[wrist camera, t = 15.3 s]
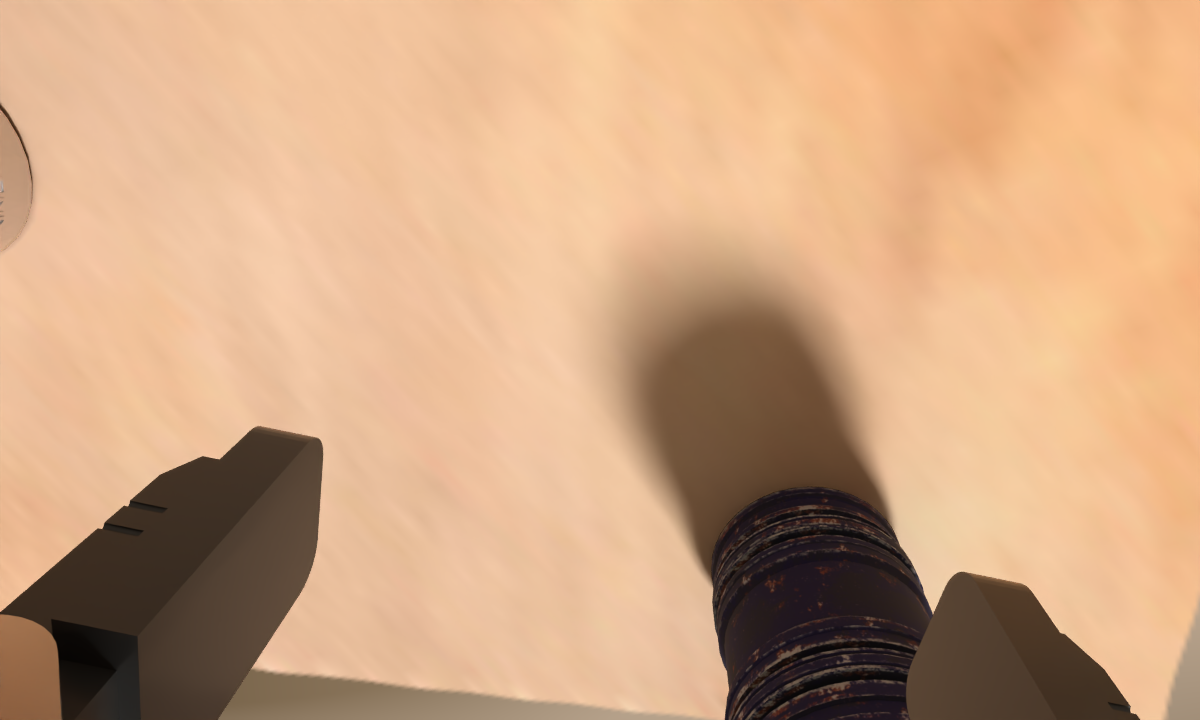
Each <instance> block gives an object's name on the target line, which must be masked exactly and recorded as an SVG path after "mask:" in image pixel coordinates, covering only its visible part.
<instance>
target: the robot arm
mask: <svg viewBox="0 0 1200 720" xmlns="http://www.w3.org/2000/svg"><path fill="white" fill-rule="evenodd" d="M31 201H32V181H31V175H30V170H29V164H28V160H27V157H26V155H25V152H24V150H23V147H22V144H21V142H20V139H19V137H18V136H17V134H16V132H15V130H14V129H13V127H12V125H11V124H10V122H9V120H8V119H7V117H6V116H5V115H4V113H3V112H2V111H1V110H0V252H1V251H3V250H4V249H6V248H7V247H8V246H9V245H10V244H11V243H12V242H13V241H14V240H15V239H16V238H17V237H18V236H19V234H20V232H21V231H22V229H23V227H24V225H25V224H26V222H27V218H28V215H29V211H30V207H31ZM322 466H323V447H322V443H321V441H320V439H319V438H315V437H310V436H306V435H301V434H296V433H291V432H286V431H281V430H276V429H271V428H267V427H262V426H257V427H255V428H253V429H252V430H251V431H249V432H248V433H247V434H246V435H245V436H244V437H243V438H242V439H241V440H240V441H239V442H238V443H237V444H236V445H235V446H234V447H232V448H231V449H230V450H229V451H228V452H227V453H226V454H225V455H224V456H223V457H222V458H221V459H220V460H219V459H214V458H209V457H204V456H202V457H200V458H198V459H195V460H193V461H191V462H188V463H186V464H184V465H181V466H179V467H177V468H174V469H172V470H170V471H168V472H165V473H163V474H161V475H159V476H158V477H157V478H156V479H155V480H153V481H152V482H151V483H150V484H149V485H148V486H147V487H145V488H144V489H143V490H142V491H141V492H140V493H138V494H137V495H136V496H135V497H134V498H133V499H131V500H130V504H129V506H128V507H127V506H123V507H122V508H121V509H120V510H119V511H117V512H116V513H115V514H114V515H113V516H112V517H110V518H109V519H108V520H107V521H106V522H105V523H104V527H103V529H97V530H95V531H94V532H93V533H92V534H91V535H90V536H88V537H87V538H86V539H85V540H84V541H83V542H81V543H80V544H79V545H78V546H77V547H76V548H74V549H73V550H72V551H71V552H70V553H69V554H67V555H66V556H65V557H64V558H63V559H62V560H60V561H59V562H58V563H57V564H56V565H55V566H54V567H52V568H51V569H50V570H49V571H48V572H47V573H45V574H44V575H43V576H42V577H41V578H40V579H38V580H37V581H36V582H35V583H34V584H33V585H31V586H30V587H29V588H28V589H27V590H26V591H24V592H23V593H22V594H21V595H20V596H19V597H17V598H16V599H15V600H14V601H13V602H12V603H11V604H9V605H8V606H7V607H6V608H5V609H4V610H2V611H1V612H0V720H218V718H219V717H220V715H221V714H222V712H223V711H224V709H225V708H226V706H227V705H228V703H229V702H230V700H231V699H232V697H233V695H234V694H235V692H236V691H237V689H238V688H239V686H240V685H241V683H242V682H243V680H244V678H245V677H246V676H247V674H248V672H249V671H250V669H251V668H252V666H253V665H254V663H255V662H256V660H257V659H258V657H259V656H260V654H261V653H262V651H263V650H264V648H265V647H266V645H267V644H268V642H269V640H270V639H271V637H272V636H273V634H274V633H275V631H276V630H277V628H278V627H279V625H280V624H281V622H282V621H283V619H284V618H285V616H286V614H287V613H288V611H289V610H290V608H291V607H292V605H293V604H294V602H295V601H296V599H297V598H298V596H299V595H300V593H301V591H302V590H303V588H304V586H305V583H306V581H307V579H308V576H309V574H310V571H311V568H312V565H313V561H314V558H315V553H316V548H317V540H318V525H319V511H320V496H321V481H322ZM906 702H907V709H908V714H909V718H910V720H1140V719H1139V717H1138V716H1137V715H1136V714H1132V713H1131V712H1130V707H1131V706H1130V705H1129V704H1128V702H1127V701H1126V699H1125V698H1124V697H1123V695H1122V694H1121V692H1120V691H1119V690H1118V688H1117V687H1116V685H1115V684H1114V683H1113V681H1112V680H1111V678H1110V677H1109V676H1108V674H1107V673H1106V671H1105V670H1104V669H1103V668H1102V667H1101V666H1100V665H1099V664H1098V663H1096V662H1095V661H1094V660H1093V659H1092V658H1091V657H1090V656H1089V655H1087V654H1086V653H1085V652H1084V651H1083V650H1082V649H1081V648H1080V647H1078V646H1077V645H1076V644H1075V643H1074V642H1073V641H1072V640H1071V639H1069V638H1068V637H1067V636H1066V635H1065V634H1061V633H1060V632H1059V631H1058V629H1057V628H1056V626H1055V625H1054V623H1053V622H1052V620H1051V619H1050V617H1049V616H1048V615H1047V613H1046V612H1045V610H1044V609H1043V607H1042V606H1041V604H1040V603H1039V601H1038V600H1037V599H1036V597H1035V596H1034V594H1033V593H1032V591H1031V590H1030V589H1029V588H1028V587H1027V586H1025V585H1023V584H1020V583H1015V582H1011V581H1006V580H1001V579H996V578H991V577H986V576H981V575H976V574H972V573H967V572H959V573H957V574H955V575H954V576H953V577H952V578H951V579H950V580H949V582H948V583H947V585H946V587H945V589H944V591H943V594H942V596H941V598H940V600H939V603H938V605H937V607H936V609H935V612H934V614H933V616H932V618H931V620H930V623H929V625H928V627H927V629H926V632H925V634H924V636H923V638H922V641H921V643H920V645H919V647H918V650H917V652H916V654H915V656H914V659H913V661H912V663H911V666H910V669H909V673H908V678H907V686H906Z"/></svg>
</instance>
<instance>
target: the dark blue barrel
mask: <svg viewBox="0 0 1200 720" xmlns="http://www.w3.org/2000/svg"><path fill="white" fill-rule="evenodd" d="M711 571H712V580H713V601H712V603H713V613H714V622H715V629H716V633H717V636H718V642H719V650H720V655H721V658H722V661H723V664H724V666H725V668H726V670H727V675H728V684H729V693H728V697H727V705H726V712H725V720H910V718H909V714H908V709H907V702H906V686H907V678H908V673H909V669H910V666H911V663H912V661H913V659H914V656H915V654H916V652H917V650H918V647H919V645H920V643H921V641H922V638H923V636H924V634H925V632H926V629H927V627H928V625H929V623H930V620H931V618H932V616H933V614H932V611H931V608H930V606H929V604H928V601H927V599H926V597H925V595H924V591H923V587H922V585H921V582H920V580H919V577H918V575H917V573H916V571H915V569H914V567H913V565H912V563H911V561H910V559H909V558H908V556H907V555H906V553H905V552H904V550H903V549H902V548H901V547H900V545H899V542H898V540H897V537H896V535H895V533H894V531H893V529H892V528H891V526H890V525H889V523H888V522H887V520H886V519H885V518H884V517H883V516H882V515H881V514H880V513H879V512H878V511H877V510H876V509H875V508H873V507H872V506H870V505H869V504H868V503H866V502H865V501H863V500H861V499H859V498H857V497H855V496H853V495H851V494H848V493H845V492H842V491H839V490H834V489H828V488H821V487H801V488H791V489H787V490H782V491H778V492H775V493H772V494H770V495H767V496H764V497H762V498H760V499H758V500H757V501H755V502H753V503H751V504H749V505H748V506H747V507H745V508H744V509H743V510H741V511H740V512H739V513H738V514H737V515H736V516H735V517H734V518H733V519H732V520H731V521H730V522H729V523H728V524H727V526H726V527H725V528H724V530H723V531H722V533H721V534H720V537H719V539H718V541H717V543H716V545H715V549H714V552H713V556H712V566H711Z"/></svg>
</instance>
